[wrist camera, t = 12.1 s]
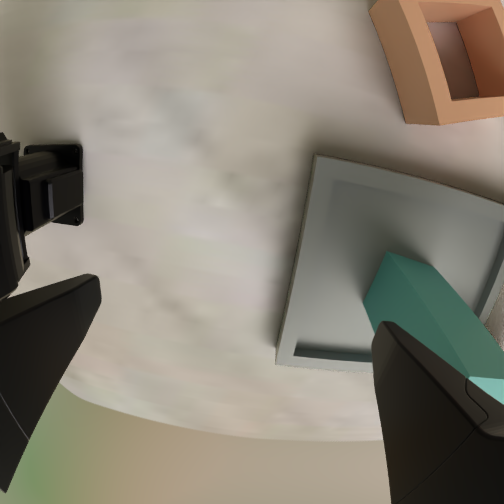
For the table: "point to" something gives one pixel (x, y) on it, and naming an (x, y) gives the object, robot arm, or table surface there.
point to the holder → (428, 63)
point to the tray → (379, 255)
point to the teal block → (436, 319)
